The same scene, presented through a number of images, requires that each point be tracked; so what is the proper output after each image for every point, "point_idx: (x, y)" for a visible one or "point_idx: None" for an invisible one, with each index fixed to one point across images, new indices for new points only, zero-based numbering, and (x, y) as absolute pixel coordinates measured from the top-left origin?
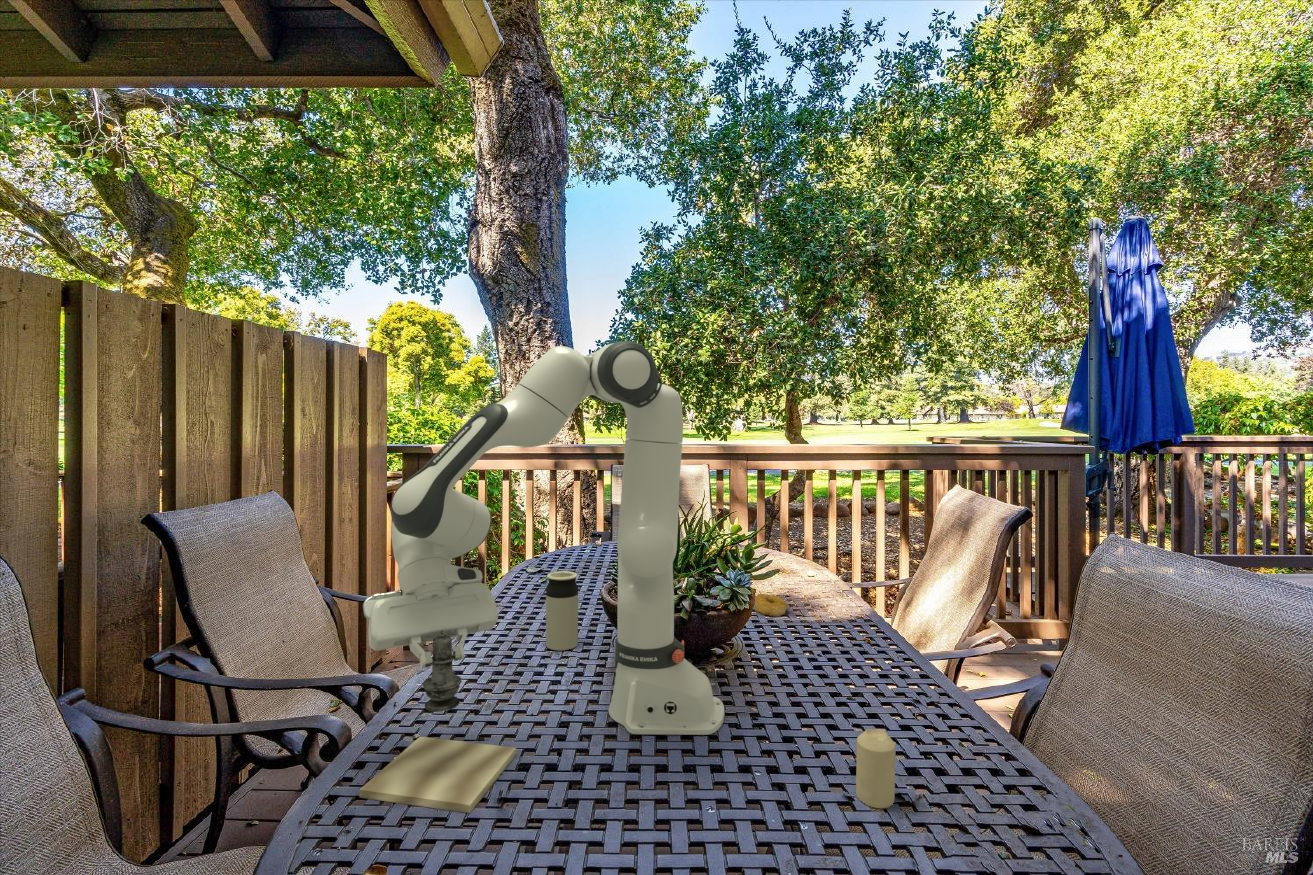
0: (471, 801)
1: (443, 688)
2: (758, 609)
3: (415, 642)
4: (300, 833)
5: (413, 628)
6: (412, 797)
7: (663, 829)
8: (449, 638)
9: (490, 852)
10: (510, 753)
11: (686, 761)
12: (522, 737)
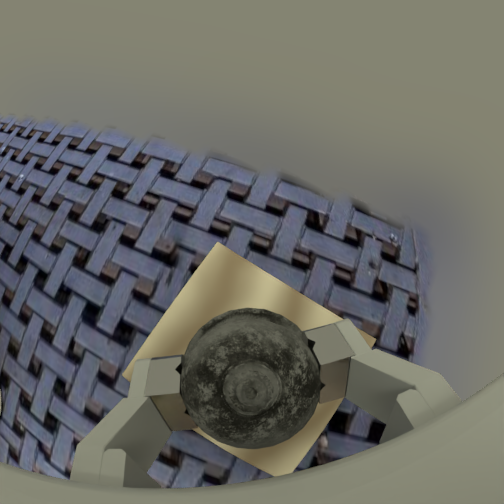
0: (214, 248)
1: (249, 311)
2: None
3: (428, 385)
4: (420, 280)
5: (493, 424)
6: (298, 292)
7: (59, 162)
8: (194, 354)
9: (208, 171)
10: (133, 361)
11: None
12: None
